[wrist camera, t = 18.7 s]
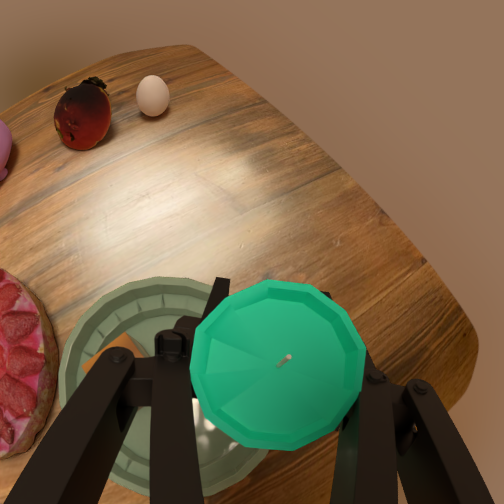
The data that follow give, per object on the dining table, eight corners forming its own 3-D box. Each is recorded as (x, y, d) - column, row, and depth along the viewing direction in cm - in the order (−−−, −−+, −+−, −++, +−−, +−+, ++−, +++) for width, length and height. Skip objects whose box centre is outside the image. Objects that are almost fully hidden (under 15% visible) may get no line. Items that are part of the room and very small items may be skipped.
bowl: (305, 347, 33) (321, 335, 28) (221, 515, 24) (220, 535, 19) (141, 267, 36) (128, 242, 31) (55, 416, 27) (27, 415, 21)
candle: (293, 334, 21) (360, 251, 10) (307, 421, 18) (400, 431, 8) (203, 344, 20) (174, 268, 10) (213, 434, 18) (193, 472, 7)
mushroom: (92, 144, 55) (49, 165, 42) (77, 87, 49) (30, 95, 36) (146, 125, 54) (110, 141, 41) (130, 64, 47) (90, 63, 34)
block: (172, 384, 30) (162, 380, 25) (132, 415, 28) (115, 416, 23) (140, 343, 31) (124, 331, 26) (101, 373, 29) (80, 366, 24)
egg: (136, 124, 47) (128, 87, 40) (144, 105, 49) (137, 69, 43) (168, 123, 47) (163, 85, 40) (173, 104, 50) (170, 67, 43)
